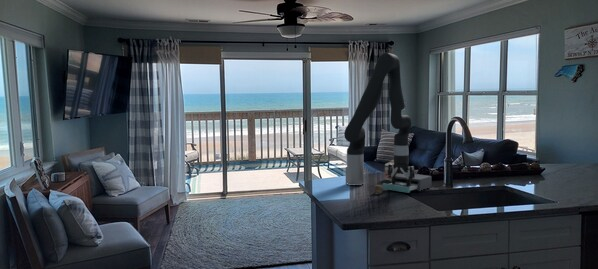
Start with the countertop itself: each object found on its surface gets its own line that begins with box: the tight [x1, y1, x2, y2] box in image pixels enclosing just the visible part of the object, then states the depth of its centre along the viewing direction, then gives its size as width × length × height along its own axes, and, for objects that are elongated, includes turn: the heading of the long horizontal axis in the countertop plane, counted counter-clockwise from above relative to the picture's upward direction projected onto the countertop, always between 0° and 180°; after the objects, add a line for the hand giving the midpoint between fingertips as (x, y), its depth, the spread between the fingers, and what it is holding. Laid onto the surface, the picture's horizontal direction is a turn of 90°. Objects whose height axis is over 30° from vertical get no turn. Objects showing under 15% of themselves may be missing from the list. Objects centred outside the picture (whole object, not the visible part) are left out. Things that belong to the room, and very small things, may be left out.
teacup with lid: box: [384, 159, 400, 181], centre depth 240 cm, size 12×9×12 cm
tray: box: [382, 182, 418, 194], centre depth 215 cm, size 15×12×3 cm
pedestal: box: [373, 184, 383, 195], centre depth 209 cm, size 4×4×4 cm
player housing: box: [395, 173, 433, 192], centre depth 222 cm, size 16×12×6 cm
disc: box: [395, 183, 407, 187], centre depth 214 cm, size 6×6×2 cm
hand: (400, 185), depth 214 cm, fingers open, 8 cm apart
